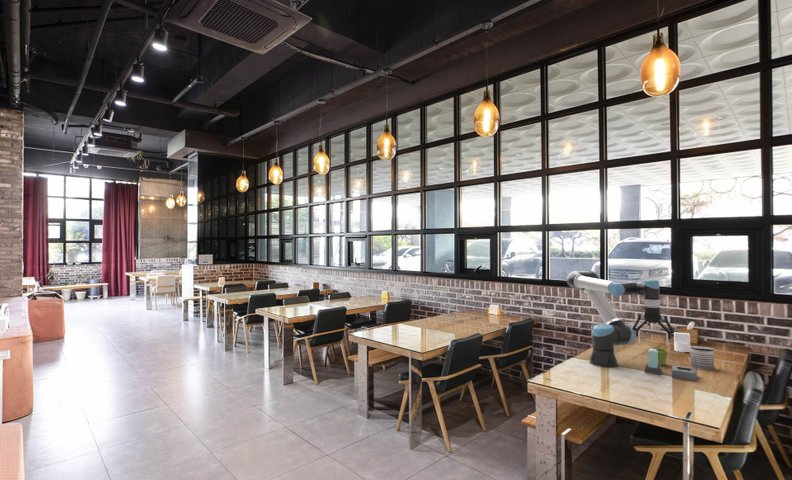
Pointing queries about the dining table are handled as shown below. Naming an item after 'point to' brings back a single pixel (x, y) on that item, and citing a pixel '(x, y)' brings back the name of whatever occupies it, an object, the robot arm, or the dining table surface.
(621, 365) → the dining table surface
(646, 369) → the holster
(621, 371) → the dining table surface
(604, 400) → the dining table surface
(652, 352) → the plug
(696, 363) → the can
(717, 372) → the dining table surface
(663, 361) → the plant pot
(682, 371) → the port block
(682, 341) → the cylinder with rectangular tab
